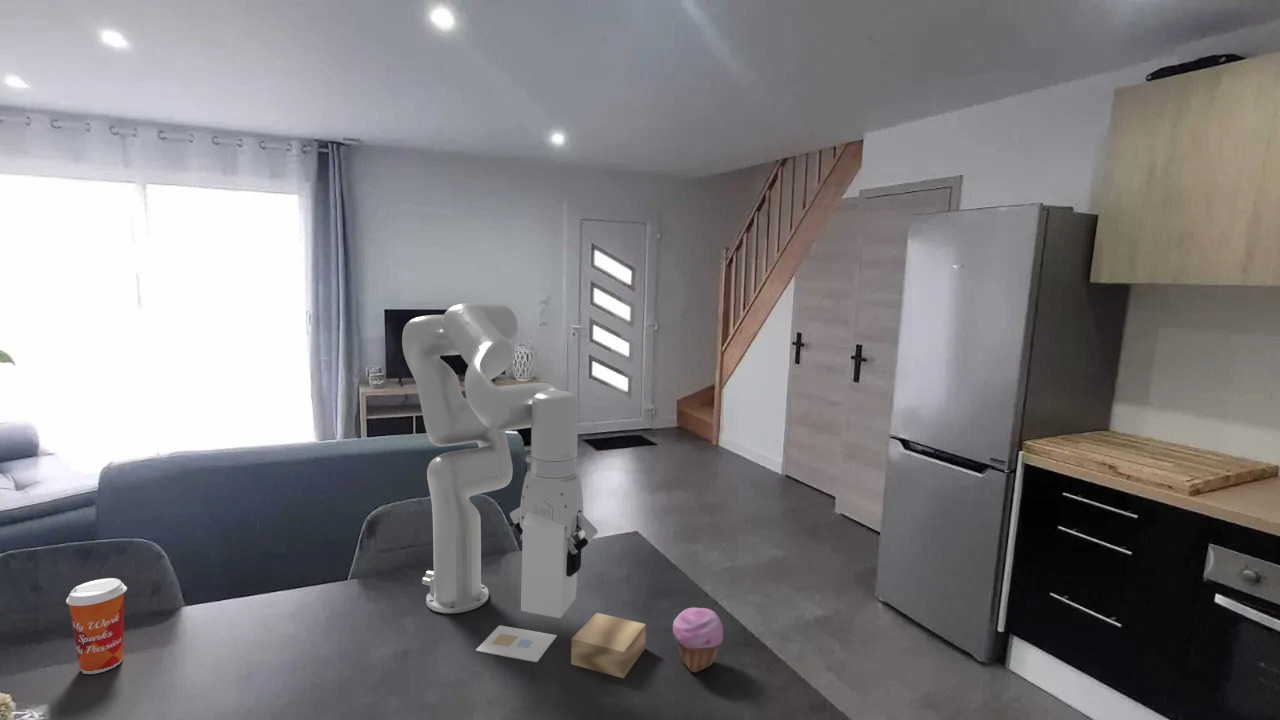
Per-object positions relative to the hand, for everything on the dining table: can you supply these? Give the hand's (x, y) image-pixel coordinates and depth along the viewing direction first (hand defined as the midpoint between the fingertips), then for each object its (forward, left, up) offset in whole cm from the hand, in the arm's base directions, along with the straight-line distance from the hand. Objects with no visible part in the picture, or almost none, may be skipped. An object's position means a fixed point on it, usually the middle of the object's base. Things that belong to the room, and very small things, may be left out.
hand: (551, 566), depth 108 cm
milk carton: (0, -1, -7) cm, 7 cm away
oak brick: (+7, +9, -19) cm, 22 cm away
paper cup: (-68, -33, -19) cm, 78 cm away
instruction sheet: (-10, +5, -19) cm, 22 cm away
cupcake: (+22, +14, -19) cm, 32 cm away
